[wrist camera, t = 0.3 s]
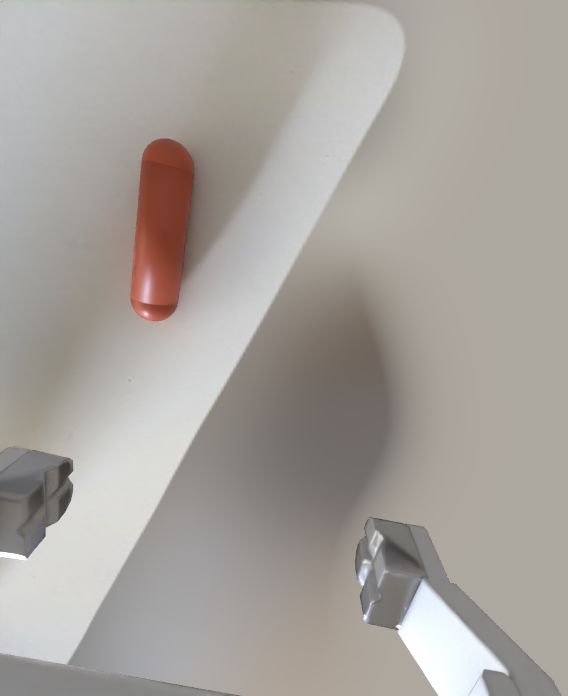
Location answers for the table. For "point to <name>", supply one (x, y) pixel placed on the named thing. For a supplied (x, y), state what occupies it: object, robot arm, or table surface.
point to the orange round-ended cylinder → (161, 228)
